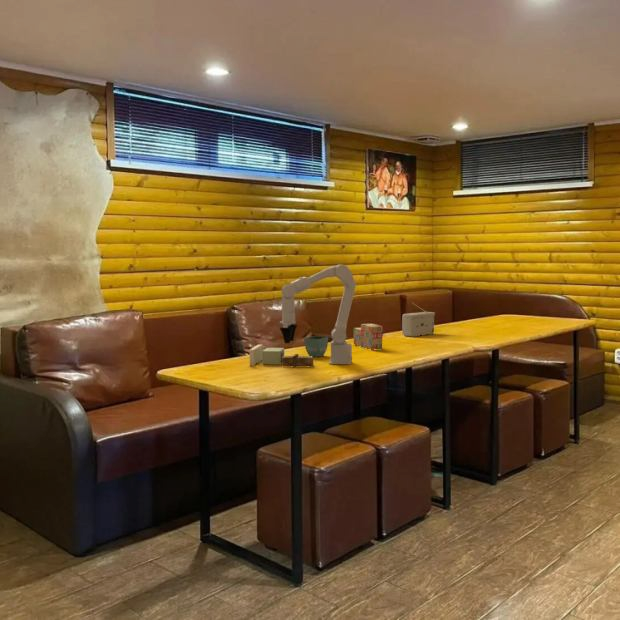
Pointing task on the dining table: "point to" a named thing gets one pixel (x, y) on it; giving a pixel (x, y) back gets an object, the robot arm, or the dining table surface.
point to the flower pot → (316, 345)
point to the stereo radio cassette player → (418, 323)
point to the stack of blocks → (368, 336)
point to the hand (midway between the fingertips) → (289, 342)
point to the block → (272, 355)
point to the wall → (255, 354)
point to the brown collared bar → (297, 360)
